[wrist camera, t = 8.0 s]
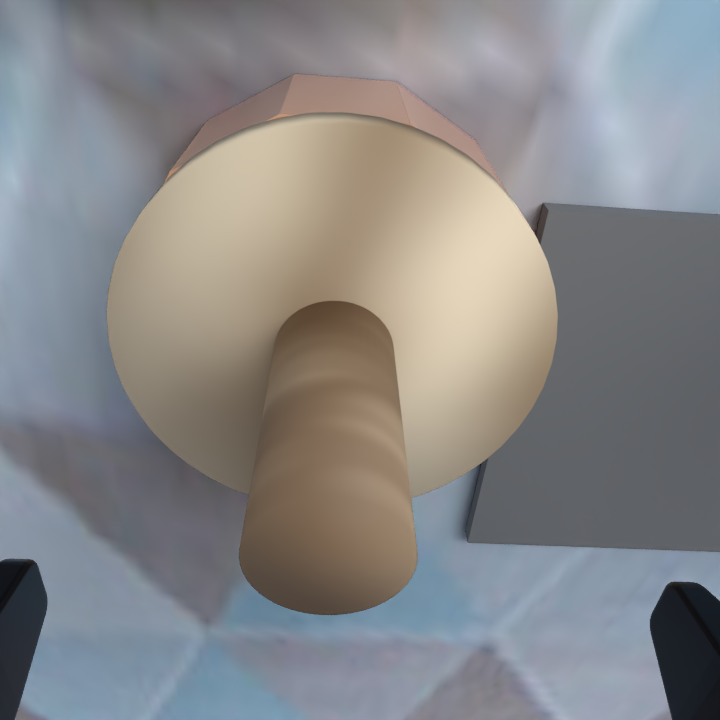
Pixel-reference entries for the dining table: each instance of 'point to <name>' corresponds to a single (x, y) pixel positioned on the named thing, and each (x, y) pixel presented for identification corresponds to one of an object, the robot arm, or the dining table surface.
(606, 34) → the dining table surface
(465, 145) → the bowl
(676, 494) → the mat
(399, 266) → the lid
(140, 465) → the dining table surface
